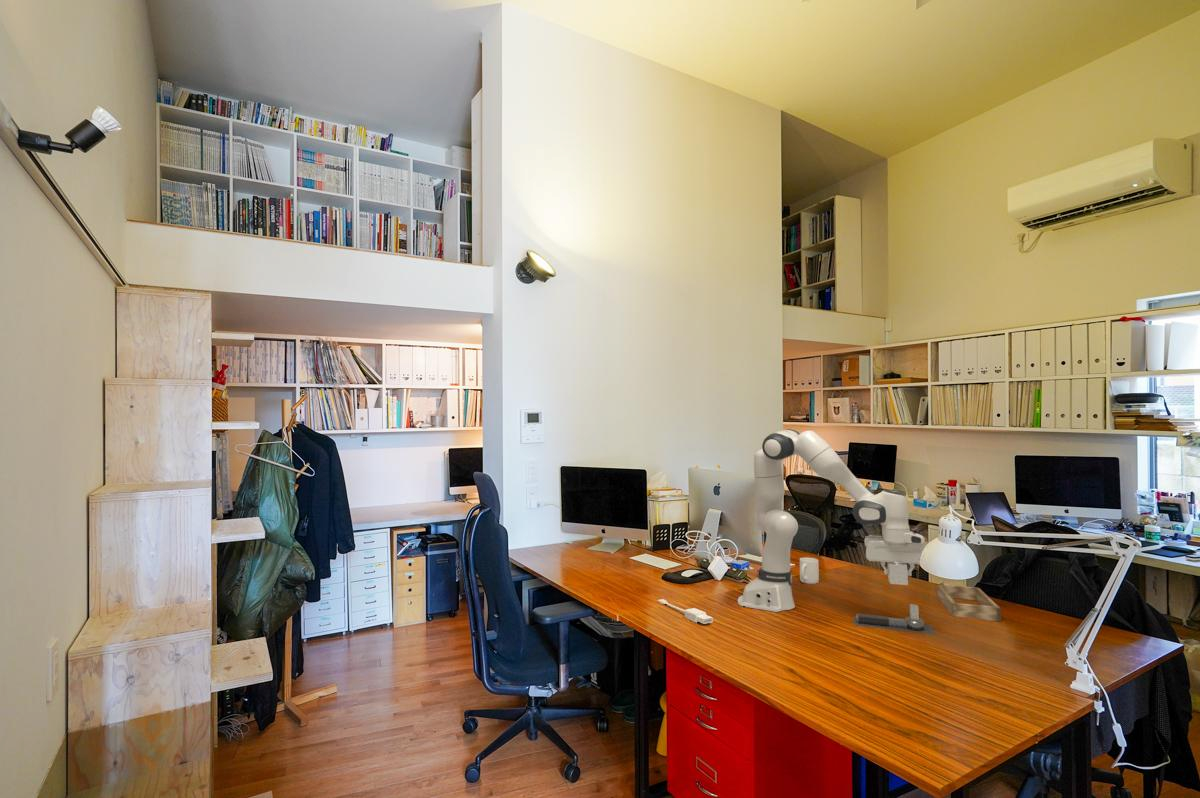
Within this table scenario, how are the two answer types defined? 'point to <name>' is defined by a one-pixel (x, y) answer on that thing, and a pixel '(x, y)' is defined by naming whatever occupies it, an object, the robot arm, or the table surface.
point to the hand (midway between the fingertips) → (897, 575)
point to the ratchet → (894, 620)
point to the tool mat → (926, 628)
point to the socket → (898, 573)
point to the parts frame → (983, 611)
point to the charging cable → (692, 614)
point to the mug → (809, 570)
